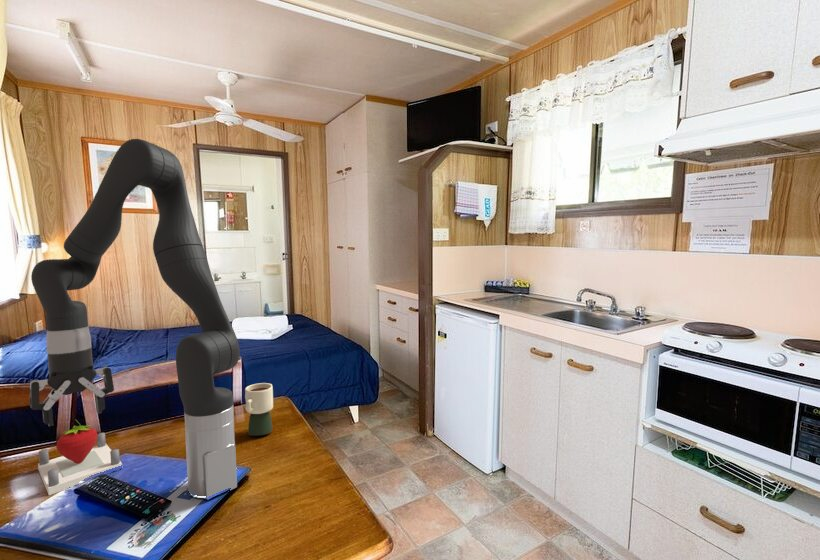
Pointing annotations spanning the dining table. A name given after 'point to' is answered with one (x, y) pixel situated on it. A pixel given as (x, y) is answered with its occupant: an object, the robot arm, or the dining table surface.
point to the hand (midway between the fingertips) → (76, 418)
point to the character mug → (259, 408)
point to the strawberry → (77, 443)
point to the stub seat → (76, 466)
